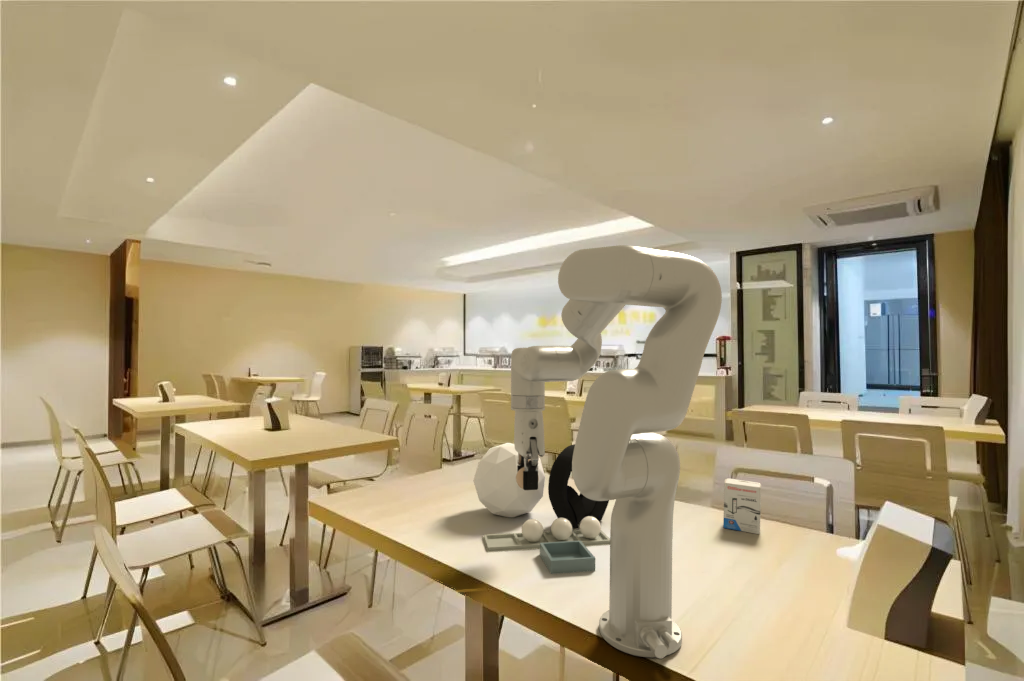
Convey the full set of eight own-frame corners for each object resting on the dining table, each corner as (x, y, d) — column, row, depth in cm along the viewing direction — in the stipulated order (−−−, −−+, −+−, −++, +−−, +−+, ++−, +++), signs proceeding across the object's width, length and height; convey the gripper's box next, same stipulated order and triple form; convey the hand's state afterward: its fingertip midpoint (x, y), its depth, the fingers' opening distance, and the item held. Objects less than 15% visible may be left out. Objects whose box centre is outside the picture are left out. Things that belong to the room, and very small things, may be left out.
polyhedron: (489, 540, 132) (449, 476, 136) (538, 500, 145) (501, 443, 149) (520, 524, 118) (475, 454, 122) (572, 482, 131) (530, 419, 135)
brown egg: (541, 492, 106) (541, 468, 106) (518, 493, 105) (518, 469, 105) (535, 486, 111) (535, 463, 111) (513, 487, 110) (513, 464, 110)
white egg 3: (604, 541, 114) (604, 519, 114) (583, 542, 113) (583, 520, 113) (596, 533, 119) (596, 512, 119) (576, 534, 118) (576, 513, 118)
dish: (595, 573, 98) (595, 558, 98) (550, 576, 97) (551, 560, 97) (580, 554, 107) (580, 540, 107) (539, 556, 106) (539, 542, 106)
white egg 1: (545, 544, 111) (545, 522, 111) (523, 546, 110) (524, 523, 110) (540, 536, 116) (540, 515, 116) (519, 537, 115) (519, 516, 115)
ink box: (722, 528, 125) (723, 482, 125) (724, 522, 130) (724, 477, 130) (760, 534, 121) (760, 486, 121) (760, 528, 126) (761, 482, 126)
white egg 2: (575, 543, 112) (575, 521, 112) (554, 544, 111) (554, 522, 111) (568, 535, 117) (568, 514, 117) (548, 536, 116) (548, 515, 116)
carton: (613, 546, 112) (613, 541, 112) (487, 554, 106) (487, 548, 106) (599, 532, 121) (599, 527, 121) (481, 538, 115) (482, 533, 115)
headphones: (564, 535, 118) (565, 452, 119) (545, 527, 123) (547, 447, 124) (614, 520, 130) (615, 444, 130) (595, 513, 135) (596, 440, 135)
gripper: (555, 406, 101) (554, 496, 100) (534, 400, 118) (534, 476, 117) (519, 407, 100) (519, 497, 99) (503, 400, 116) (503, 478, 115)
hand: (527, 485), depth 108 cm, fingers closed on brown egg, 4 cm apart
